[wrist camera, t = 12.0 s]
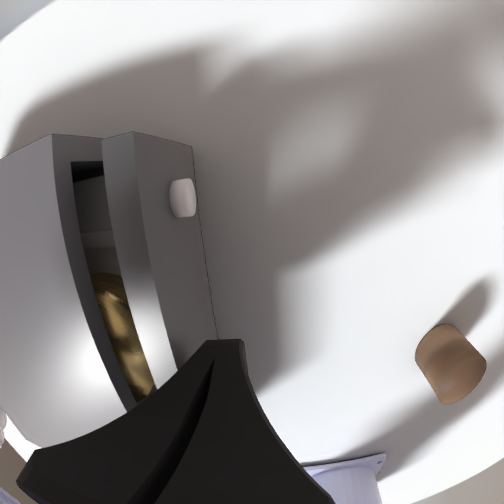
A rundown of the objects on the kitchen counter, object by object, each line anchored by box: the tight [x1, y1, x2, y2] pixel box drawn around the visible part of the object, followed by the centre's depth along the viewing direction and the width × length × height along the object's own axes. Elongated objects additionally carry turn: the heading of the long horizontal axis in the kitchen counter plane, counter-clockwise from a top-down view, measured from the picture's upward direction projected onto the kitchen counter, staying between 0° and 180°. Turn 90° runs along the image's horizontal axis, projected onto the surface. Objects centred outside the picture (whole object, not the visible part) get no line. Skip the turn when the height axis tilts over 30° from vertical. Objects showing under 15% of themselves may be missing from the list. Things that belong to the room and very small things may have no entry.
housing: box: [0, 134, 137, 448], centre depth 11 cm, size 16×12×6 cm
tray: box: [73, 131, 218, 405], centre depth 11 cm, size 15×12×5 cm
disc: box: [90, 272, 155, 402], centre depth 11 cm, size 6×6×2 cm
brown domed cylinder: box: [415, 324, 486, 404], centre depth 12 cm, size 3×3×4 cm
